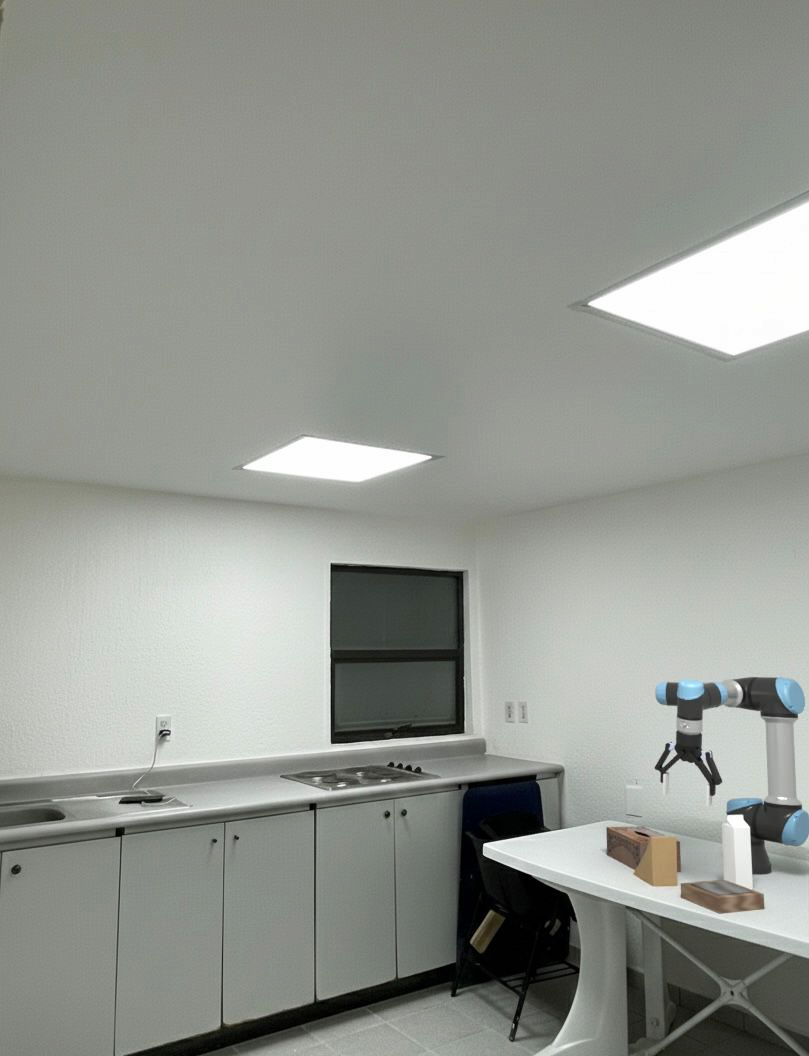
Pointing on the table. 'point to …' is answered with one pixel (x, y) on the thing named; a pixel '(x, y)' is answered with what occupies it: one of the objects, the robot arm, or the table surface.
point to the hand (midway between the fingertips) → (686, 799)
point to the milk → (737, 851)
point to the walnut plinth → (722, 896)
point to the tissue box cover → (632, 844)
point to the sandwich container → (659, 862)
